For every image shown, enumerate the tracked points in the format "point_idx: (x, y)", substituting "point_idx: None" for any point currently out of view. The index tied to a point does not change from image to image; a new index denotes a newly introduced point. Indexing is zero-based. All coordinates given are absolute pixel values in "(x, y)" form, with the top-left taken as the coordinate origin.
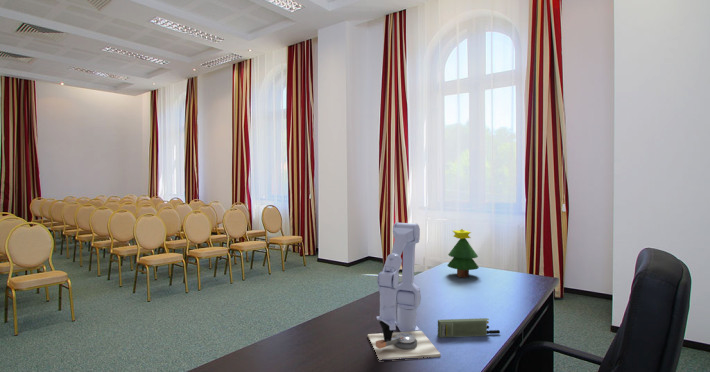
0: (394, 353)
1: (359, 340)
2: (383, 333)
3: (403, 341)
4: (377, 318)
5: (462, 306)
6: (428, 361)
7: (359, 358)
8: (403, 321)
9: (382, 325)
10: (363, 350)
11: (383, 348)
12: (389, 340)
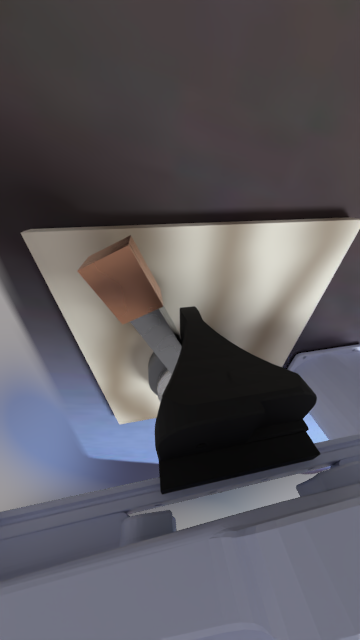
0: (110, 324)
1: (347, 138)
2: (198, 334)
3: (161, 381)
4: (329, 607)
5: (321, 434)
6: (86, 398)
7: (37, 23)
8: (325, 385)
9: (163, 426)
10: (195, 133)
11: (167, 282)
12: (151, 341)
